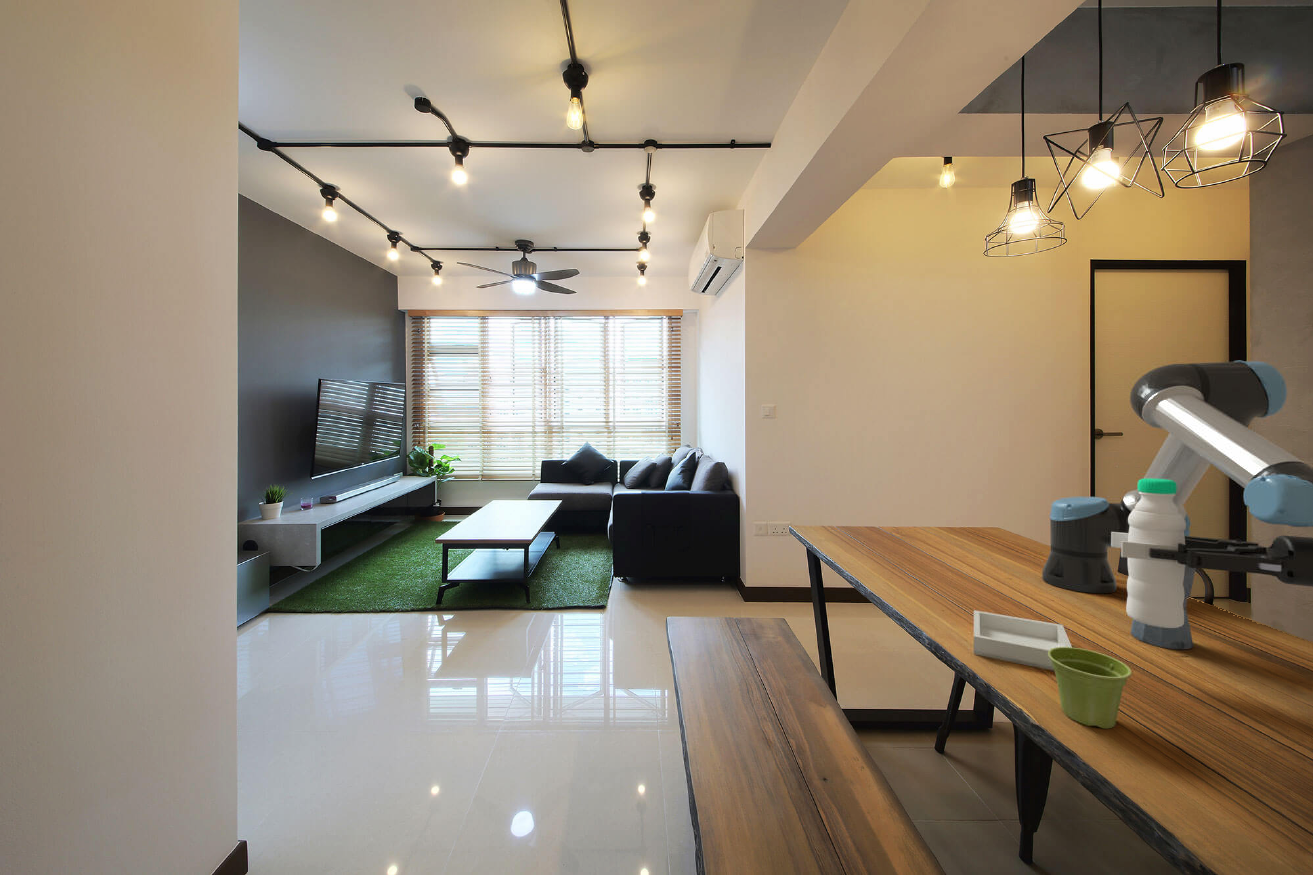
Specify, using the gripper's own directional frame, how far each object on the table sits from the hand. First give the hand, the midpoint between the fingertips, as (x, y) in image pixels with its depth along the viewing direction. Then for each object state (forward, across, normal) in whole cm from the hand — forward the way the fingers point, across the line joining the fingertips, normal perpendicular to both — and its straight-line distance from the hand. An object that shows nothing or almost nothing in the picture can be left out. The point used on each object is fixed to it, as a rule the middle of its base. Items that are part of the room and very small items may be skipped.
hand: (1116, 543), depth 87 cm
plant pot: (+7, -22, -23) cm, 32 cm away
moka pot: (-10, +19, -23) cm, 31 cm away
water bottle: (-5, 0, -13) cm, 14 cm away
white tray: (+14, 0, -22) cm, 27 cm away
